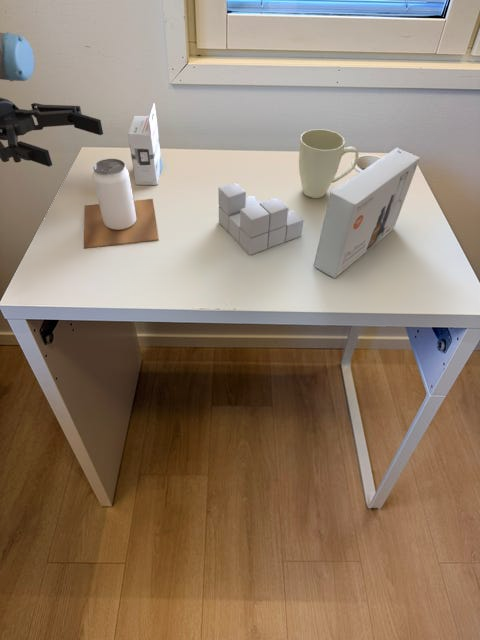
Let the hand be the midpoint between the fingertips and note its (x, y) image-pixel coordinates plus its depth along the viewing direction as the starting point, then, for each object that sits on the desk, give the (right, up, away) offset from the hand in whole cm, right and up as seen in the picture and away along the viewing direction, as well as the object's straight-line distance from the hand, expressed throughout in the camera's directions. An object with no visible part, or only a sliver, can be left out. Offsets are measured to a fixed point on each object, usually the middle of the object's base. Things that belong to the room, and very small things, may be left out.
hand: (76, 142), depth 84 cm
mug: (+47, -4, +18) cm, 51 cm away
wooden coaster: (+6, -13, +9) cm, 17 cm away
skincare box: (+52, -18, +5) cm, 55 cm away
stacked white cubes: (+33, -14, +9) cm, 37 cm away
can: (+6, -13, +9) cm, 16 cm away
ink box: (+9, +1, +22) cm, 23 cm away
